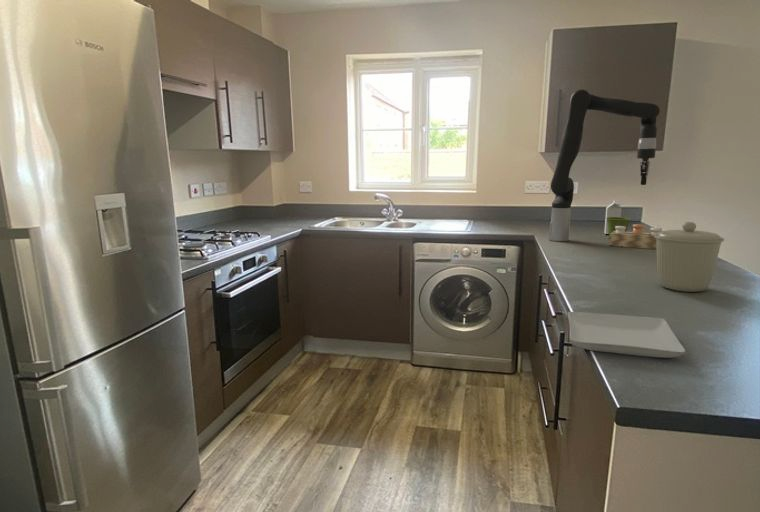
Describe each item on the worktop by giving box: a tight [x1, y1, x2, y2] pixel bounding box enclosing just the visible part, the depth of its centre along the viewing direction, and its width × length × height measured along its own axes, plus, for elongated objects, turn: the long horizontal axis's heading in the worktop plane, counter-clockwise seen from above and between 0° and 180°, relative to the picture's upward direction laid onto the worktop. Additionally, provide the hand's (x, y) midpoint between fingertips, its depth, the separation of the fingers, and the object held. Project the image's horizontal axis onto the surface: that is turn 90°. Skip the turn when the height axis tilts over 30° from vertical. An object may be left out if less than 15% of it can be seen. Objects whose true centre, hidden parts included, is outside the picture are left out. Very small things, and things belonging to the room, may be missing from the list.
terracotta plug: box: [632, 223, 644, 235], centre depth 220 cm, size 5×5×8 cm
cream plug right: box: [649, 227, 663, 235], centre depth 216 cm, size 5×5×8 cm
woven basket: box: [609, 231, 657, 250], centre depth 221 cm, size 22×10×6 cm, turn 55°
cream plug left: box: [615, 226, 626, 234], centre depth 224 cm, size 5×5×8 cm
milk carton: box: [604, 200, 622, 235], centre depth 257 cm, size 7×7×19 cm
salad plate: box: [567, 311, 686, 359], centre depth 102 cm, size 21×21×3 cm
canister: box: [654, 221, 725, 293], centre depth 143 cm, size 18×18×21 cm
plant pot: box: [605, 216, 632, 239], centre depth 241 cm, size 12×12×11 cm
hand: (643, 184), depth 221 cm, fingers closed
